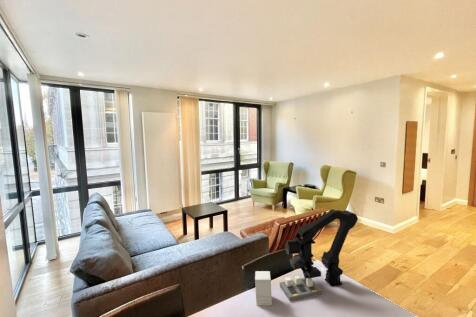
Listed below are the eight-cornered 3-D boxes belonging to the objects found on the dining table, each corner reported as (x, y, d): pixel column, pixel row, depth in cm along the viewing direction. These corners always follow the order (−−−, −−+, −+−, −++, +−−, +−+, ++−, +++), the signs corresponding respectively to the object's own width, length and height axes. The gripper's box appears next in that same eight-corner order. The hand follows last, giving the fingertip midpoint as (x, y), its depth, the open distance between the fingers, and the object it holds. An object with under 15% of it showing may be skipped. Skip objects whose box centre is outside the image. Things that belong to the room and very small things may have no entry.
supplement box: (271, 295, 114) (270, 270, 113) (271, 306, 106) (271, 279, 106) (256, 295, 114) (255, 270, 114) (255, 305, 107) (254, 279, 106)
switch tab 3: (310, 283, 118) (310, 277, 118) (312, 286, 116) (312, 280, 116) (306, 284, 118) (306, 278, 118) (308, 287, 116) (308, 280, 115)
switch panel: (308, 280, 124) (308, 276, 124) (321, 294, 113) (321, 290, 113) (279, 286, 121) (279, 282, 121) (289, 301, 109) (289, 297, 109)
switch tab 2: (298, 281, 120) (298, 275, 120) (300, 284, 118) (300, 278, 118) (294, 282, 120) (294, 276, 120) (296, 285, 118) (296, 278, 117)
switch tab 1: (289, 283, 119) (289, 277, 119) (291, 285, 117) (291, 279, 117) (285, 284, 119) (285, 278, 119) (287, 286, 116) (287, 280, 116)
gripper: (283, 246, 126) (284, 273, 127) (300, 263, 108) (301, 295, 109) (302, 243, 128) (303, 270, 129) (321, 259, 110) (322, 290, 111)
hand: (306, 280), depth 120 cm, fingers closed
